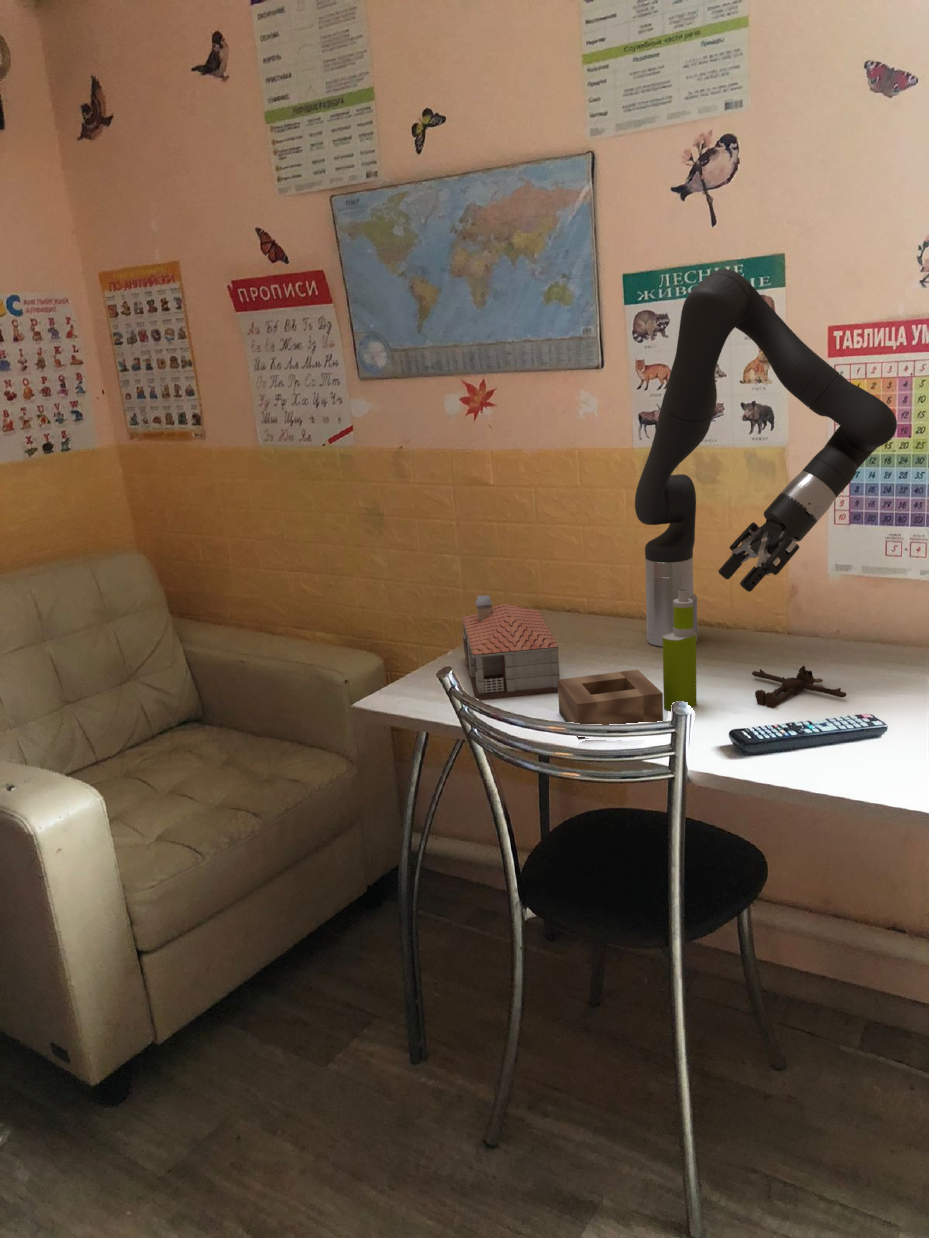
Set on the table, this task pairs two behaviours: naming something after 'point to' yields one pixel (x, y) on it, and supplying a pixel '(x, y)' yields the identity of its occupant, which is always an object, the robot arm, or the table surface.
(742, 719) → the table surface
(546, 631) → the model house
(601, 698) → the dock
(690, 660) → the vape
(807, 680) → the brown humanoid figurine
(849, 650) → the table surface
